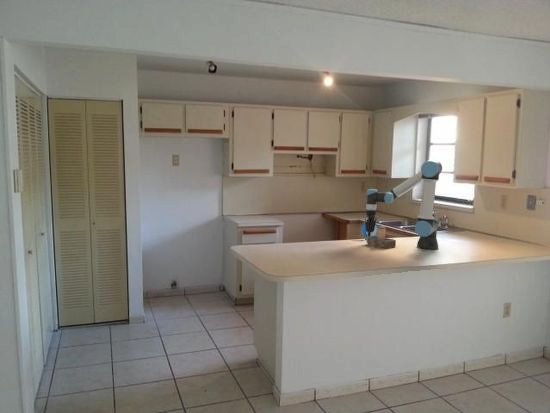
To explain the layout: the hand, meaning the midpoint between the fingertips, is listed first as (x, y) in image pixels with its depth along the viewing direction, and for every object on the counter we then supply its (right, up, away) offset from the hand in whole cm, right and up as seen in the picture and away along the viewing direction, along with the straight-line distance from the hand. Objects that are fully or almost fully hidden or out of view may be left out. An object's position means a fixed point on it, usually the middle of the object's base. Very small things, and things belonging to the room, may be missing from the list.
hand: (369, 240), depth 349 cm
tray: (+6, -2, -7) cm, 9 cm away
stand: (+7, -4, -7) cm, 10 cm away
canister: (+7, -1, -7) cm, 10 cm away
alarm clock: (+5, 0, +26) cm, 27 cm away
